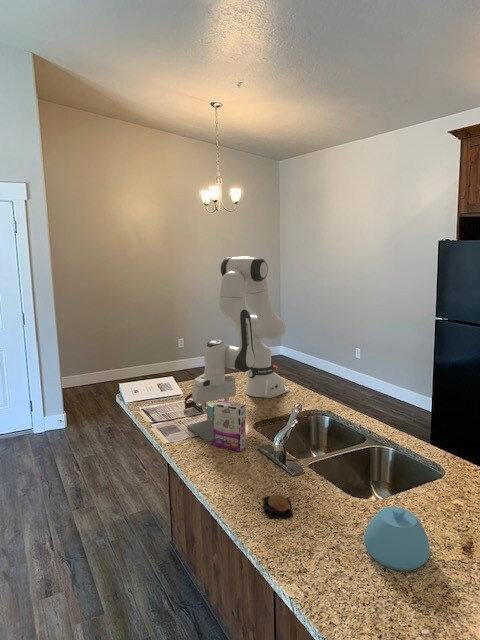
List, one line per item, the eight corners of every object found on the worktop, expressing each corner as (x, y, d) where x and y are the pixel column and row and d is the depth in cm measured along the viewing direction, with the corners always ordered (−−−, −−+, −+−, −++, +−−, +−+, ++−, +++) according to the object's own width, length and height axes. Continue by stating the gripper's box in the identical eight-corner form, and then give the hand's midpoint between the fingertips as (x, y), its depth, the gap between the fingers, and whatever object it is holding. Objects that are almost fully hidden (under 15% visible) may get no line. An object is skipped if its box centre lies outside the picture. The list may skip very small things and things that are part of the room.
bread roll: (260, 500, 136) (260, 488, 136) (288, 499, 137) (289, 487, 136) (264, 521, 126) (264, 509, 125) (295, 520, 126) (295, 508, 126)
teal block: (217, 413, 204) (217, 402, 203) (223, 416, 200) (223, 405, 199) (207, 415, 201) (207, 404, 200) (213, 419, 197) (212, 407, 196)
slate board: (217, 420, 195) (217, 417, 195) (240, 435, 180) (240, 432, 180) (187, 427, 187) (187, 425, 187) (209, 443, 173) (209, 440, 172)
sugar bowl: (353, 556, 111) (355, 512, 109) (377, 526, 123) (379, 486, 121) (417, 585, 102) (420, 537, 100) (436, 549, 114) (440, 506, 112)
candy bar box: (246, 447, 170) (246, 404, 167) (240, 452, 166) (240, 408, 163) (220, 441, 175) (219, 399, 172) (213, 446, 171) (212, 403, 168)
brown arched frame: (209, 412, 205) (200, 399, 202) (190, 421, 206) (181, 408, 203) (207, 397, 216) (199, 384, 213) (189, 405, 217) (181, 392, 213)
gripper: (231, 373, 205) (231, 403, 207) (190, 380, 194) (190, 411, 196) (239, 376, 200) (238, 407, 202) (197, 383, 189) (197, 416, 191)
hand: (214, 409), depth 199 cm, fingers open, 8 cm apart
